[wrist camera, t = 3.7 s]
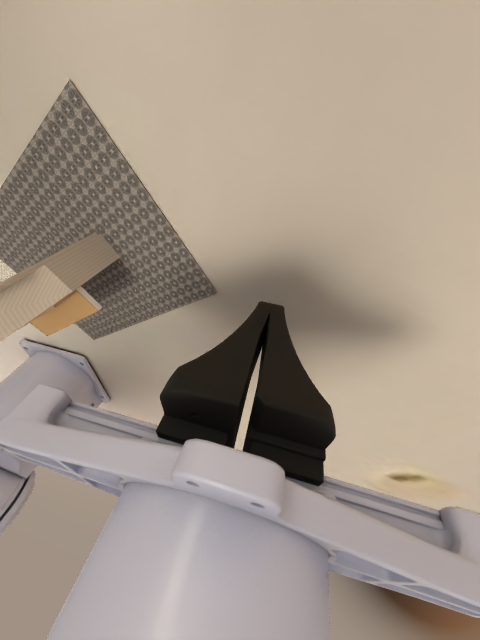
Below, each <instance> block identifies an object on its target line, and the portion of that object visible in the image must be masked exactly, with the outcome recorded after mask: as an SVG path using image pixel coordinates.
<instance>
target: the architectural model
mask: <svg viewBox="0 0 480 640" xmlns="http://www.w3.org/2000/svg"><path fill="white" fill-rule="evenodd" d="M0 259H1V260H2V261H3V262H5V263H6V264H7V265H8V266H9V267H10V268H12V269H13V270H14V271H15V272H16V273H17V274H16V275H14V276H12V277H10V278H8V279H7V280H5V281H3V282H1V283H0V341H2V340H3V339H5V338H6V337H7V336H9V335H10V334H12V333H13V332H15V331H16V330H18V329H20V328H21V327H23V326H25V325H26V324H28V323H31V324H32V325H33V326H35V327H36V328H37V329H39V330H40V331H41V332H42V333H44V334H45V335H46V336H48V335H50V334H52V333H54V332H57V331H59V330H61V329H63V328H65V327H67V326H69V325H71V324H73V323H75V324H76V325H77V326H79V327H80V328H81V329H82V330H83V331H84V332H86V333H87V334H88V335H89V336H90V337H91V338H92V339H94V340H95V339H98V338H100V337H103V336H106V335H108V334H111V333H114V332H116V331H119V330H121V329H124V328H127V327H129V326H132V325H135V324H137V323H140V322H142V321H145V320H148V319H150V318H153V317H155V316H158V315H161V314H163V313H166V312H169V311H171V310H174V309H176V308H179V307H182V306H184V305H187V304H190V303H192V302H195V301H197V300H200V299H203V298H205V297H208V296H210V295H213V294H216V293H217V292H216V291H215V289H214V288H213V286H212V285H211V283H210V282H209V281H208V279H207V278H206V276H205V275H204V273H203V272H202V270H201V269H200V268H199V266H198V265H197V263H196V262H195V260H194V259H193V257H192V256H191V255H190V253H189V252H188V250H187V249H186V247H185V246H184V244H183V243H182V241H181V240H180V239H179V237H178V236H177V234H176V233H175V231H174V230H173V228H172V227H171V226H170V224H169V223H168V221H167V220H166V218H165V217H164V215H163V214H162V213H161V211H160V210H159V208H158V207H157V205H156V204H155V202H154V201H153V199H152V198H151V197H150V195H149V194H148V192H147V191H146V189H145V188H144V186H143V185H142V184H141V182H140V181H139V179H138V178H137V176H136V175H135V173H134V172H133V171H132V169H131V168H130V166H129V165H128V163H127V162H126V160H125V159H124V157H123V156H122V155H121V153H120V152H119V150H118V149H117V147H116V146H115V144H114V143H113V142H112V140H111V139H110V137H109V136H108V134H107V133H106V131H105V130H104V129H103V127H102V126H101V124H100V123H99V121H98V120H97V118H96V117H95V115H94V114H93V113H92V111H91V110H90V108H89V107H88V105H87V104H86V102H85V101H84V100H83V98H82V97H81V95H80V94H79V92H78V91H77V89H76V88H75V87H74V85H73V84H72V82H71V81H70V80H69V81H68V83H67V84H66V86H65V87H64V89H63V91H62V92H61V94H60V95H59V97H58V98H57V100H56V102H55V103H54V105H53V106H52V108H51V110H50V111H49V113H48V114H47V116H46V117H45V119H44V121H43V122H42V124H41V125H40V127H39V128H38V130H37V132H36V133H35V135H34V136H33V138H32V139H31V141H30V143H29V144H28V146H27V147H26V149H25V150H24V152H23V154H22V155H21V157H20V158H19V160H18V161H17V163H16V165H15V166H14V168H13V169H12V171H11V172H10V174H9V176H8V177H7V179H6V180H5V182H4V183H3V185H2V187H1V188H0Z"/></svg>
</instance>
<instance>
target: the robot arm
mask: <svg viewBox="0 0 480 640" xmlns="http://www.w3.org/2000/svg"><path fill="white" fill-rule="evenodd" d="M19 344H20V345H21V346H22V348H23V349H24V350H25V351H26V352H27V354H28V355H29V356H30V358H29V359H28V360H27V361H25V362H24V363H23V364H22V365H21V366H20V367H18V368H17V369H16V370H15V371H14V372H12V373H11V374H10V375H9V376H8V377H7V378H5V379H4V380H3V381H2V382H1V383H0V535H1V534H2V533H3V532H4V531H5V530H6V529H7V527H8V526H9V525H10V524H11V523H12V521H13V520H14V519H15V518H16V516H17V515H18V514H19V512H20V511H21V509H22V508H23V506H24V505H25V503H26V502H27V500H28V498H29V496H30V494H31V492H32V490H33V487H34V482H35V475H36V474H35V471H34V469H35V468H36V467H37V465H38V466H41V467H44V468H46V469H49V470H52V471H54V472H57V473H59V474H62V475H65V476H67V477H70V478H72V479H75V480H77V481H80V482H82V483H85V484H87V485H90V486H92V487H95V488H98V489H100V490H103V491H105V492H108V493H110V494H113V495H115V496H118V497H119V499H118V501H117V503H116V505H115V507H114V509H113V511H112V513H111V514H110V516H109V518H108V520H107V522H106V524H105V526H104V528H103V530H102V532H101V534H100V536H99V538H98V540H97V541H96V544H95V545H94V547H93V549H92V551H91V553H90V555H89V557H88V559H87V561H86V563H85V565H84V567H83V569H82V571H81V573H80V575H79V577H78V578H77V580H76V582H75V584H74V586H73V588H72V590H71V592H70V594H69V596H68V598H67V600H66V601H65V603H64V605H63V607H62V609H61V611H60V613H59V615H58V617H57V619H56V621H55V623H54V625H53V627H52V629H51V631H50V633H49V634H48V636H47V638H46V640H330V616H329V577H328V576H329V574H328V570H329V571H332V572H335V573H338V574H342V575H345V576H348V577H352V578H355V579H358V580H362V581H364V582H368V583H371V584H374V585H377V586H381V587H384V588H387V589H390V590H394V591H397V592H400V593H403V594H406V595H409V596H413V597H416V598H419V599H422V600H425V601H428V602H431V603H434V604H437V605H440V606H443V607H446V608H449V609H452V610H455V611H458V612H461V613H464V614H467V615H470V616H473V617H477V618H480V513H477V512H474V511H470V510H467V509H464V508H459V507H445V508H442V509H441V510H440V511H439V510H436V509H433V508H429V507H426V506H423V505H419V504H416V503H413V502H409V501H406V500H403V499H400V498H396V497H393V496H390V495H386V494H383V493H380V492H376V491H373V490H370V489H366V488H363V487H360V486H356V485H353V484H350V483H346V482H343V481H340V480H336V479H333V478H330V477H326V476H324V470H323V461H325V458H326V454H325V449H326V448H327V447H328V446H329V445H330V444H331V442H332V441H333V440H334V438H335V436H336V434H335V433H336V430H335V423H334V418H333V413H332V410H331V407H330V405H329V404H328V403H327V402H326V400H325V399H324V398H323V397H322V395H321V394H320V393H319V391H318V390H317V388H316V387H315V385H314V384H313V383H312V381H311V379H310V378H309V376H308V374H307V373H306V371H305V370H304V368H303V366H302V364H301V362H300V360H299V358H298V356H297V354H296V351H295V349H294V347H293V344H292V341H291V338H290V335H289V332H288V328H287V324H286V320H285V313H284V307H283V306H280V305H276V304H271V303H267V302H262V301H261V302H259V303H258V305H257V307H256V308H255V310H254V311H253V312H252V314H251V315H250V316H249V317H248V318H247V320H246V321H245V322H244V323H243V324H242V325H241V326H240V327H239V328H238V329H237V330H236V331H235V332H234V333H233V334H232V335H230V336H229V337H228V338H227V339H226V340H224V341H223V342H222V343H220V344H219V345H217V346H216V347H215V348H213V349H212V350H210V351H208V352H207V353H205V354H203V355H202V356H200V357H198V358H196V359H194V360H192V361H190V362H188V363H186V364H184V365H182V366H180V367H178V368H177V370H176V371H175V372H174V373H173V375H172V376H171V377H170V379H169V380H168V382H167V384H166V385H165V387H164V389H163V391H162V393H161V395H160V400H161V403H162V407H163V410H164V416H163V418H162V420H161V422H160V424H159V426H157V425H153V424H150V423H147V422H143V421H140V420H137V419H133V418H130V417H127V416H123V415H120V414H117V413H113V412H110V411H107V410H103V409H100V408H97V407H98V406H99V405H100V403H101V402H105V403H108V402H109V401H110V399H109V397H108V396H107V394H106V392H105V390H104V389H103V387H102V385H101V384H100V382H99V380H98V378H97V377H96V375H95V373H94V372H93V370H92V368H91V367H90V365H89V363H88V361H87V360H86V358H85V357H83V356H81V355H78V354H74V353H70V352H66V351H63V350H59V349H55V348H52V347H48V346H44V345H41V344H37V343H33V342H30V341H26V340H22V341H20V342H19ZM262 345H263V346H262ZM261 348H262V354H261V362H260V370H259V378H258V384H257V389H256V393H255V397H254V402H253V406H252V411H251V415H250V420H249V424H248V429H247V433H246V438H245V442H244V447H243V451H240V450H237V449H234V446H235V441H236V437H237V433H238V429H239V425H240V421H241V416H242V412H243V408H244V404H245V400H246V396H247V392H248V388H249V384H250V380H251V377H252V374H253V371H254V368H255V365H256V362H257V360H258V357H259V354H260V351H261Z"/></svg>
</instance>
